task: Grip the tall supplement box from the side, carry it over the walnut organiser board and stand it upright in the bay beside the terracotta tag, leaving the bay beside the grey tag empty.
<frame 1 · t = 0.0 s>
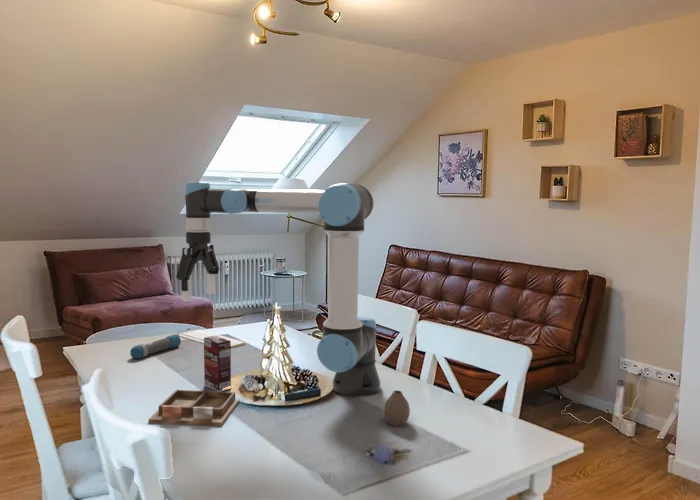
hand: (199, 297, 185), 28 cm above the table, tool pointing down, fingers open, 13 cm apart
grey and blue cylinder: (155, 353, 221), on the table
supplement box: (217, 388, 183), on the table
vase: (396, 423, 158), on the table
baseboard molding: (209, 342, 239), on the table
organiser board: (196, 411, 164), on the table
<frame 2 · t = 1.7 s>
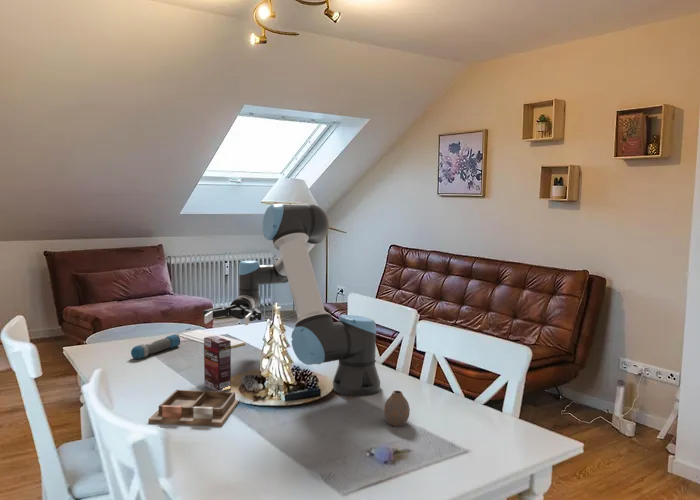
hand: (225, 320, 191), 20 cm above the table, tool horizontal, fingers open, 13 cm apart
nothing on the table moved.
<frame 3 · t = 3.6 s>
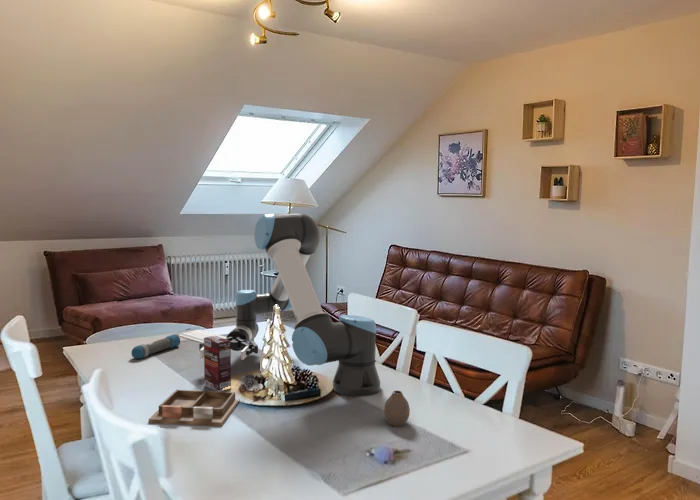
hand: (221, 354, 188), 9 cm above the table, tool horizontal, fingers open, 13 cm apart
nothing on the table moved.
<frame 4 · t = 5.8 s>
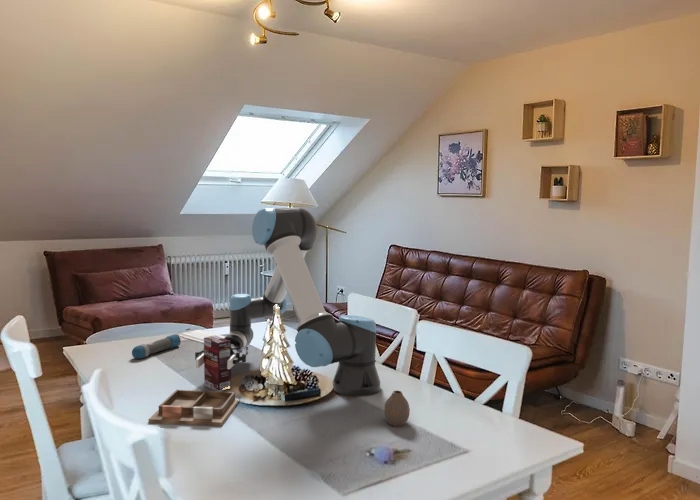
hand: (212, 364, 178), 9 cm above the table, tool horizontal, fingers closed on supplement box, 9 cm apart
supplement box: (217, 388, 183), on the table, touching gripper
everything else where it was.
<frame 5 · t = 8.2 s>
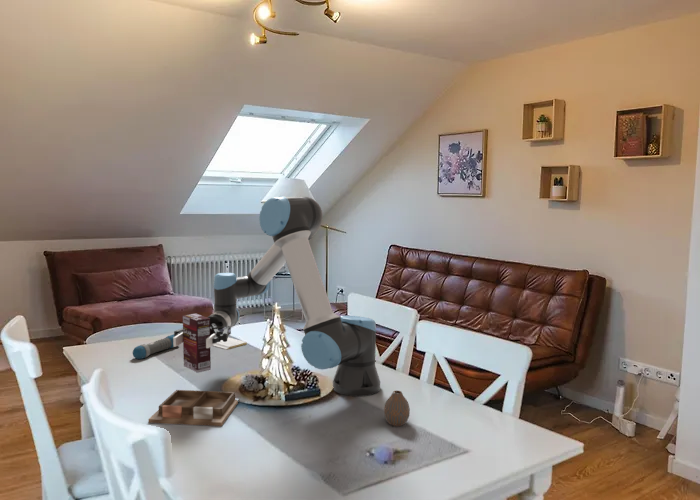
hand: (190, 342, 169), 18 cm above the table, tool horizontal, fingers closed on supplement box, 9 cm apart
supplement box: (197, 368, 174), point 9 cm above the table, touching gripper
everything else where it was.
when the fingers open (12 cm above the table, at t = 10.9 s): supplement box stays where it is, resting on organiser board.
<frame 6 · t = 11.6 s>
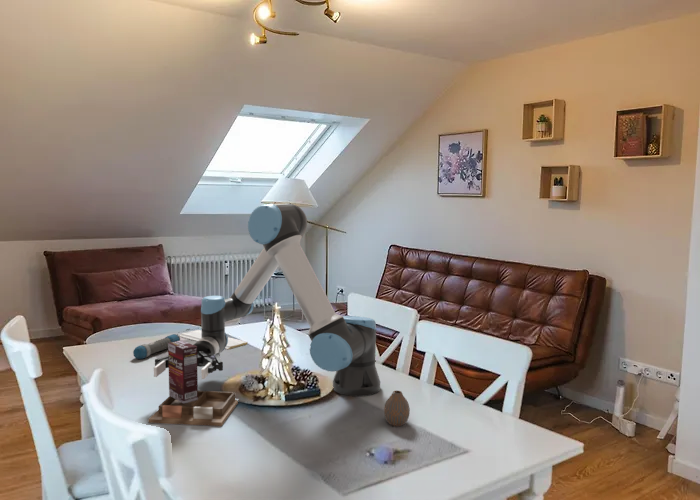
hand: (178, 373, 161), 11 cm above the table, tool horizontal, fingers open, 13 cm apart
supplement box: (183, 399, 166), point 3 cm above the table, touching organiser board
everything else where it was.
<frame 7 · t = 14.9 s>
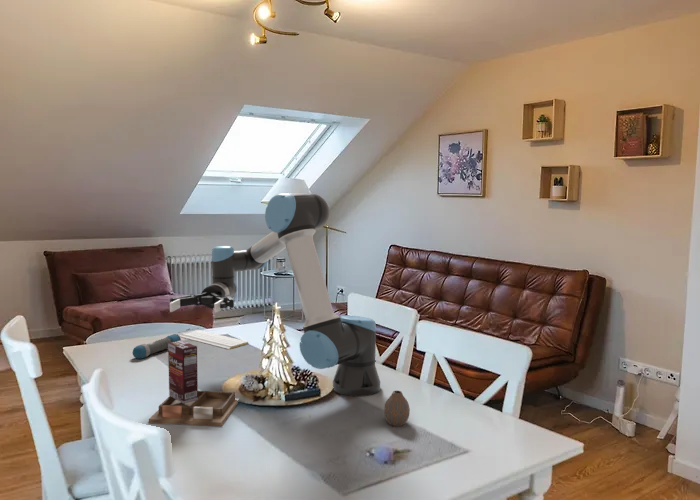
hand: (193, 307, 173), 27 cm above the table, tool horizontal, fingers open, 13 cm apart
nothing on the table moved.
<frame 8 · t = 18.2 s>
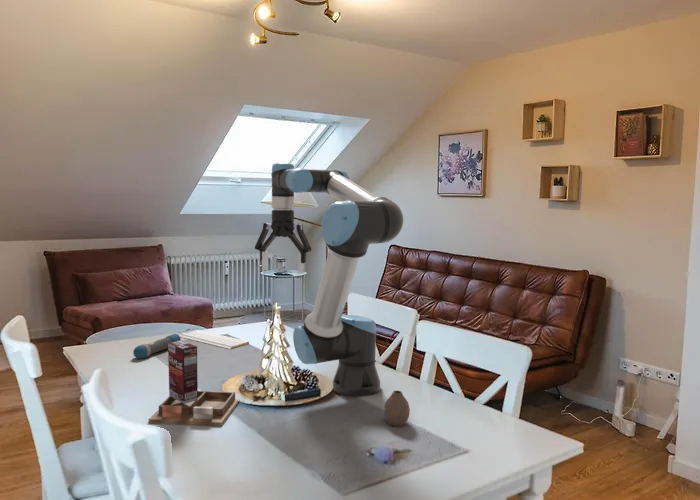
hand: (282, 271, 198), 35 cm above the table, tool pointing down, fingers open, 13 cm apart
nothing on the table moved.
at the end: supplement box 0.1 cm from the target spot on the organiser board, point 2.8 cm above the organiser board's base; supplement box touching organiser board; supplement box tilted 0° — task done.
